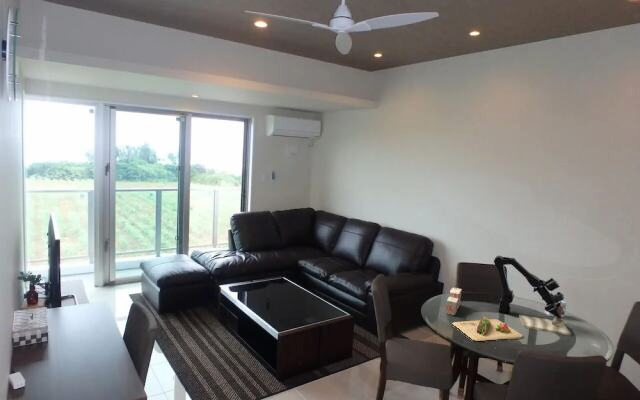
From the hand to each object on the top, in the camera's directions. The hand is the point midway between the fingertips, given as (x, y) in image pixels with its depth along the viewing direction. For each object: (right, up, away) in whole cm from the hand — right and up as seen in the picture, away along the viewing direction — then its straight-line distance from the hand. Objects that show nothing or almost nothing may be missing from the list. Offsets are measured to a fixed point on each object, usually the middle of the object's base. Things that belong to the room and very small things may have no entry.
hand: (562, 316), depth 248 cm
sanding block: (-1, -6, +2) cm, 6 cm away
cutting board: (-53, -7, -10) cm, 55 cm away
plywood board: (-11, -7, +2) cm, 13 cm away
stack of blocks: (-63, -1, +20) cm, 67 cm away
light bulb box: (+8, -6, +21) cm, 23 cm away
